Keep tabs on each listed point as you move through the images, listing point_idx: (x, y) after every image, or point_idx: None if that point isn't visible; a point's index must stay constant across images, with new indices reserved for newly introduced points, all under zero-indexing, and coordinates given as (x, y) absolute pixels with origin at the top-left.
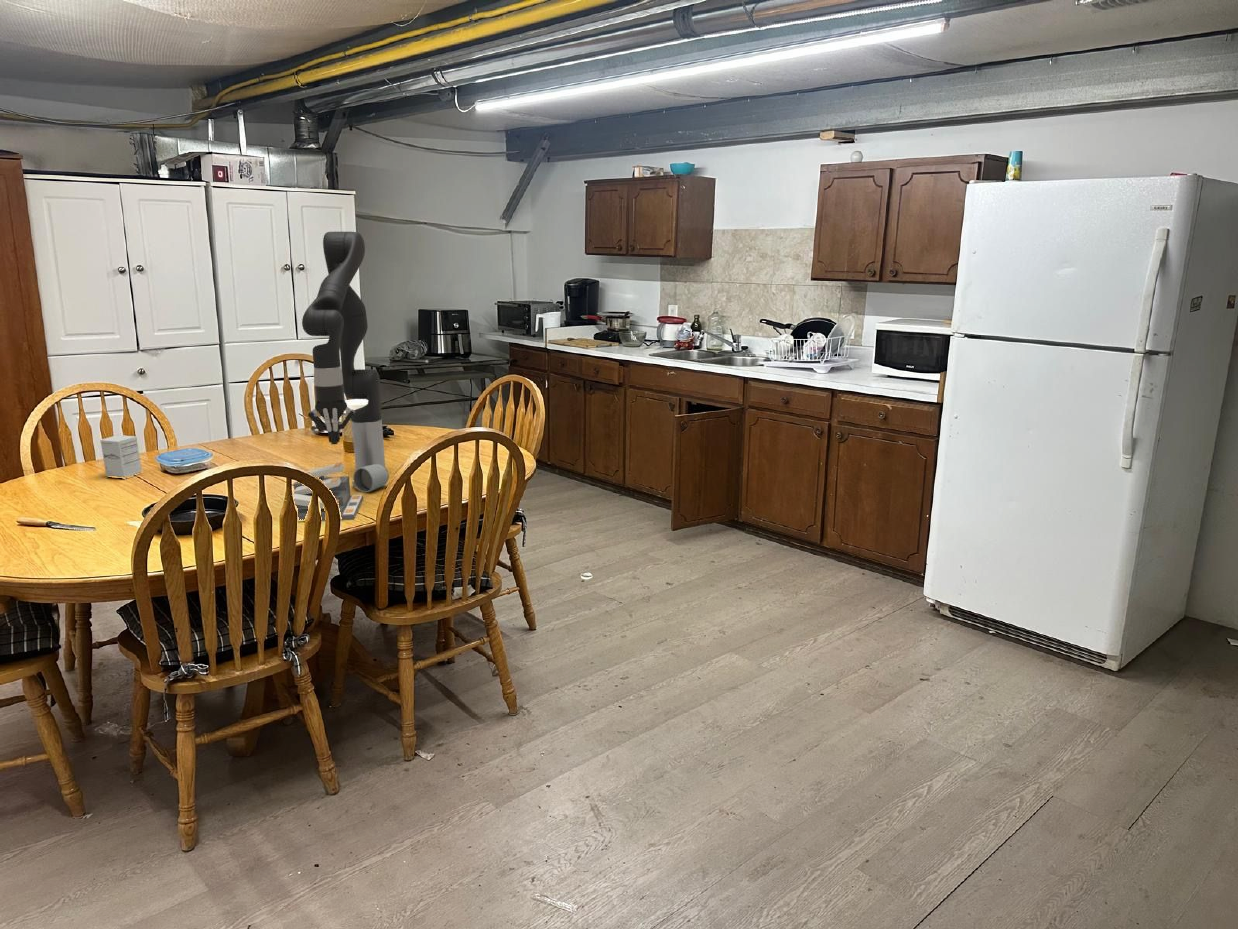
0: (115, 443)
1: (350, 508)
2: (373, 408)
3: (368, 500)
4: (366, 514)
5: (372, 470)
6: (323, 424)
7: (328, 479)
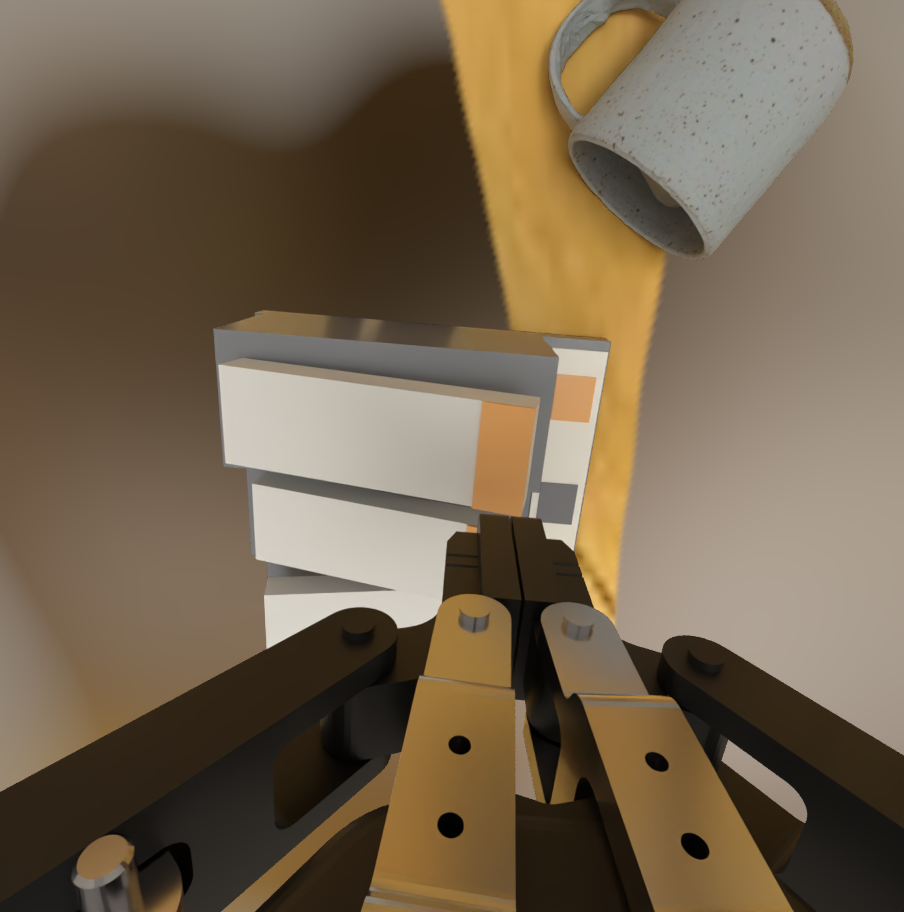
0: None
1: None
2: None
3: (630, 373)
4: (610, 576)
5: (738, 200)
6: (354, 719)
7: (439, 526)
